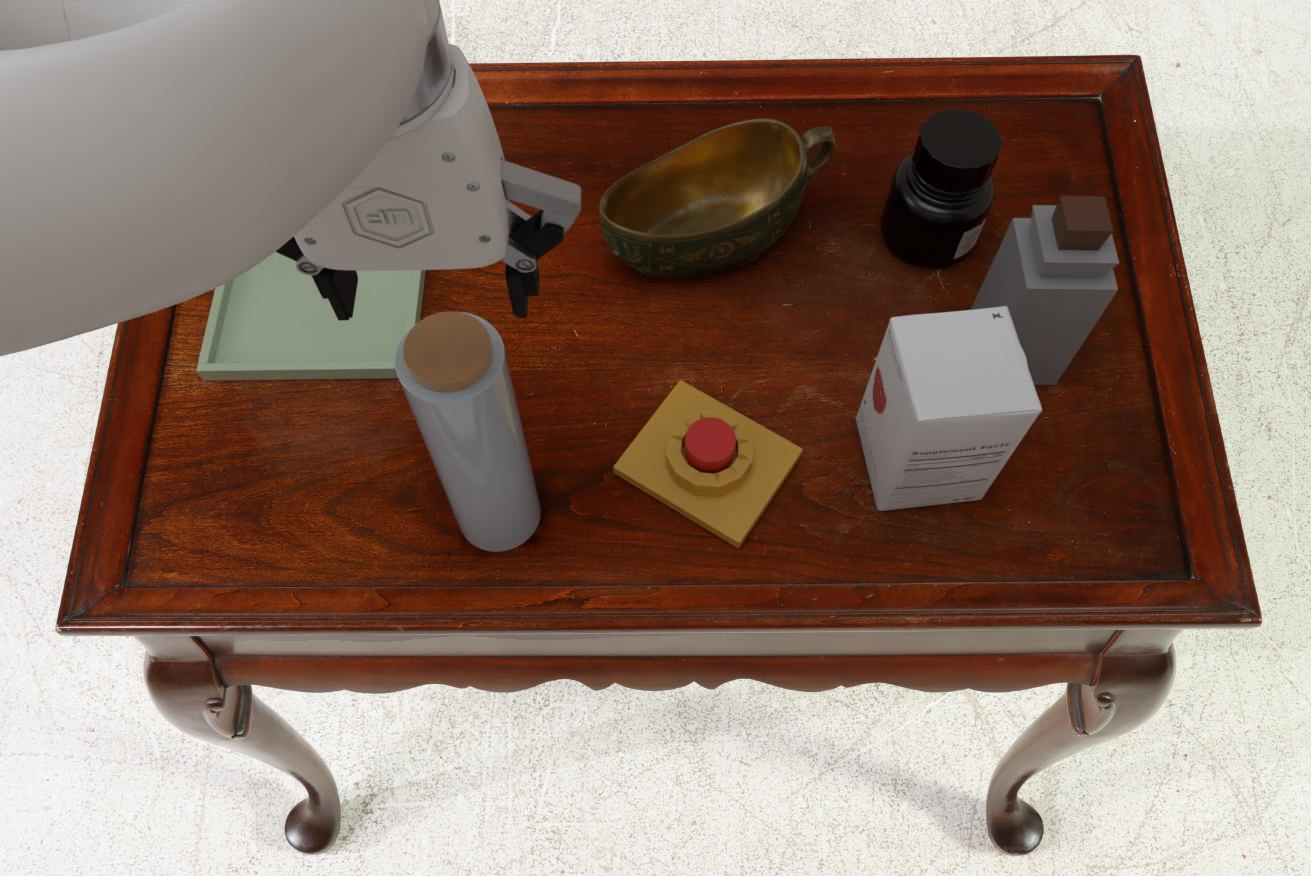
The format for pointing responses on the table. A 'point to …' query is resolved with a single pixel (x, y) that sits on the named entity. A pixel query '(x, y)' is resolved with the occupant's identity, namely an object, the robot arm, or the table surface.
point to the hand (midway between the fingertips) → (435, 298)
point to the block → (703, 496)
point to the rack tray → (307, 325)
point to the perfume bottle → (1054, 280)
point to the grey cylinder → (471, 426)
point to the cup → (712, 199)
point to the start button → (710, 444)
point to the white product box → (944, 407)
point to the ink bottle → (943, 189)
